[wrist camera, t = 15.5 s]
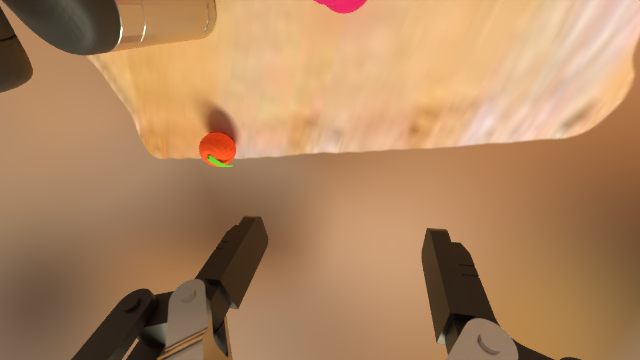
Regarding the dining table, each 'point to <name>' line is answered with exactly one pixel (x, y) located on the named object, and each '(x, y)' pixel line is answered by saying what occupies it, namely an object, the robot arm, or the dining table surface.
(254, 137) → the dining table surface
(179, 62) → the dining table surface
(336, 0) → the pepper mill
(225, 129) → the dining table surface
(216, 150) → the clementine
